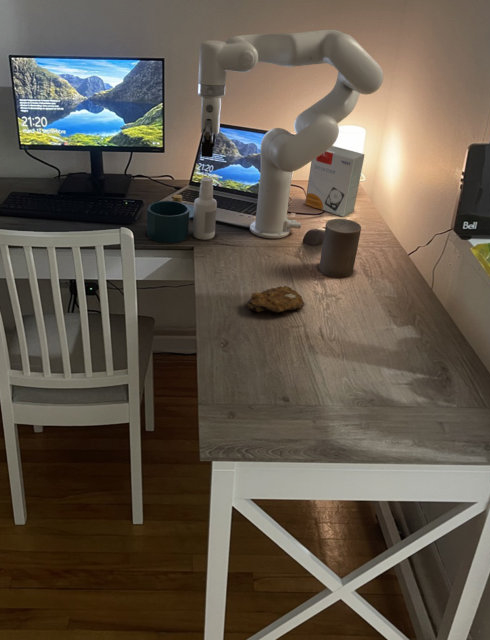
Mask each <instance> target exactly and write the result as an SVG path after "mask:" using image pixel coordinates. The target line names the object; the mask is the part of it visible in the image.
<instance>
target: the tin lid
mask: <svg viewBox="0 0 490 640" xmlns="http://www.w3.org/2000/svg"><path fill="white" fill-rule="evenodd" d="M172 201H176V202H181V203H183V195H181V194H173V195H172ZM185 204H186V205H187V206H188V207H189V208H190V213H189V220H191V219H193V217H194V205H190V204H187V203H185Z"/></svg>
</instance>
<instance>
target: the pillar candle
mask: <svg viewBox="0 0 490 640" xmlns="http://www.w3.org/2000/svg"><path fill="white" fill-rule="evenodd" d="M324 228H325V229H324V234H323V239H322V246H321V252H320V258H319V264H318V269H319V270H320V272H321V273H322V274H323V275H326V276H328V277H331V278H349V277H351V276H352V275H353V274H354V267H355V263H356V258H357V253H358V249H359V243H360V237H361V232H362V226H361V224H360V223H358V222H357V221H354V220H351V219H347V218H331V219H328V220H327V221H326V222H325V227H324Z"/></svg>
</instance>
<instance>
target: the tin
mask: <svg viewBox="0 0 490 640" xmlns="http://www.w3.org/2000/svg"><path fill="white" fill-rule="evenodd" d="M186 204H187V203H183V202H182V203H181V202H176V201H173V200H159V201H154V202H152V203H150V204H149V205H147V208H146V210H147V211H146V213H147V215H146V216H147V217H146V234H147V237H148V238H149V239H150V240H152V241H154V242H158V243H164V244H174V243H180V242H183V241H185V240H186V239H188V237H189V233H190V232H189V231H190V219H189V213H190V208H189V207H188V206H187V205H188V204H187V205H186Z"/></svg>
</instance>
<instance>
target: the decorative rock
mask: <svg viewBox="0 0 490 640" xmlns="http://www.w3.org/2000/svg"><path fill="white" fill-rule="evenodd" d="M304 304H305V302H304V300H303V296H302V295H300V294H299V293H298V292H297V291H296V290H295V289H292V287H290V286H287V285H284V286H277V287H272V288H269V289H266V290H263V291H261V292H252V293H251V297H250V301H248V303H247V304H246V306H248V309H249V310H252V311H254V312H255V313H260V312H265V311H271V312H272V313H277V314H278V313H280V312H281V313H282V312H286V311H288V310H290V311H293V310H297V311H301V310H302V309H303V307H305V306H304Z"/></svg>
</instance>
